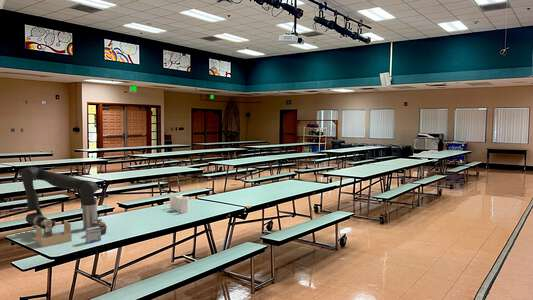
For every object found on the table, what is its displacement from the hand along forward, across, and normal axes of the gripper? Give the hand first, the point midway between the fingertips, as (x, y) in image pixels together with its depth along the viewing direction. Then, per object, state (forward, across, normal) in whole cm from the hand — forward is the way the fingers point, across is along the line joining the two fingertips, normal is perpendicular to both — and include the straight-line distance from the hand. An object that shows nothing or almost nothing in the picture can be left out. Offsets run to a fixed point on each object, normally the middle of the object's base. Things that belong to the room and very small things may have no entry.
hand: (48, 226), depth 256 cm
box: (-2, 0, +6) cm, 6 cm away
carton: (+5, 0, +7) cm, 9 cm away
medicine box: (+28, +18, +8) cm, 34 cm away
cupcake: (+14, +27, +8) cm, 31 cm away
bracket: (-11, +104, +8) cm, 105 cm away
